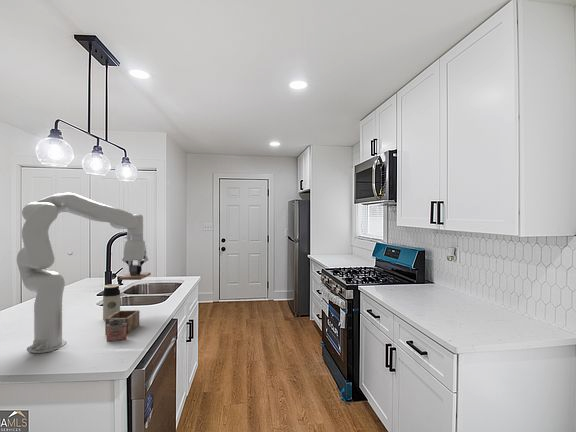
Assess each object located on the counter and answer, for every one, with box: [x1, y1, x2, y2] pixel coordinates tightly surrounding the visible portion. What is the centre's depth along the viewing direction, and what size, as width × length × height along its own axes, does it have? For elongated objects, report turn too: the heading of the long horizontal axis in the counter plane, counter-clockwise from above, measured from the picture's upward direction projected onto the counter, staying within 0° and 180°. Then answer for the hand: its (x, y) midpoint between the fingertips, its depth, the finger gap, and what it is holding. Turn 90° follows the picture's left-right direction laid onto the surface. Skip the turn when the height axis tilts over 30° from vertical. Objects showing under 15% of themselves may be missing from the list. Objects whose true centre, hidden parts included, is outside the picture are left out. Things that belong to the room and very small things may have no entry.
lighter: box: [105, 318, 128, 343], centre depth 148 cm, size 8×3×10 cm, turn 105°
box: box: [104, 310, 140, 336], centre depth 161 cm, size 13×10×8 cm
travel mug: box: [102, 283, 121, 321], centre depth 178 cm, size 8×8×18 cm
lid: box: [118, 264, 151, 281], centre depth 177 cm, size 14×11×6 cm
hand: (135, 273), depth 177 cm, fingers closed on lid, 3 cm apart
